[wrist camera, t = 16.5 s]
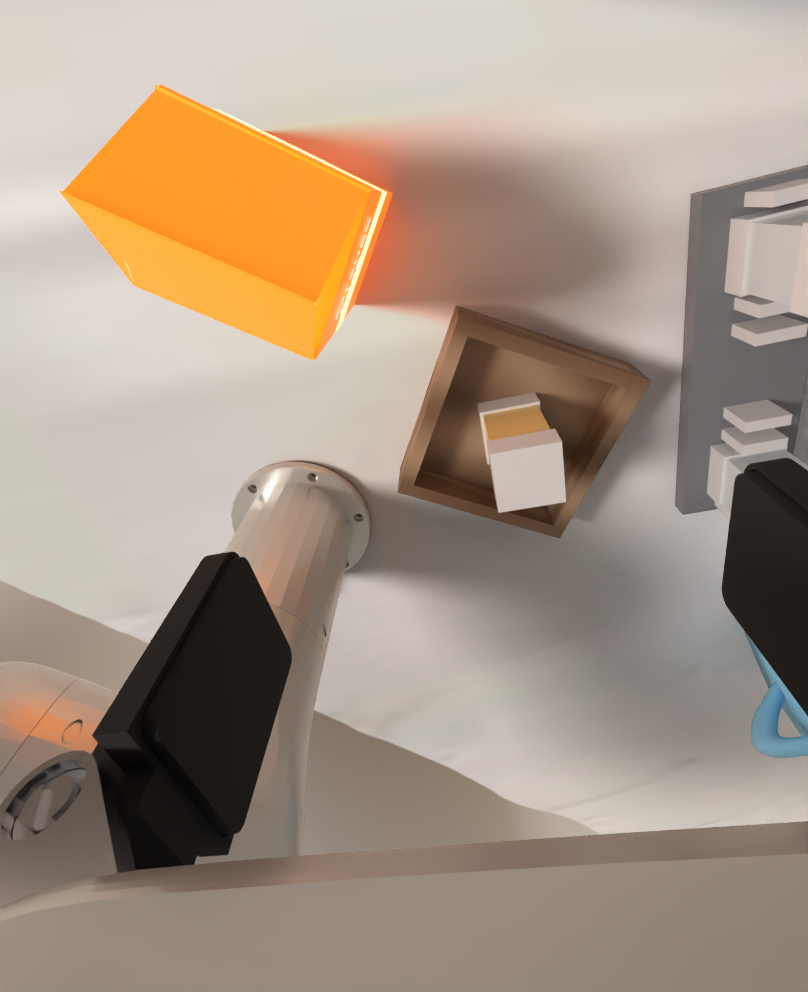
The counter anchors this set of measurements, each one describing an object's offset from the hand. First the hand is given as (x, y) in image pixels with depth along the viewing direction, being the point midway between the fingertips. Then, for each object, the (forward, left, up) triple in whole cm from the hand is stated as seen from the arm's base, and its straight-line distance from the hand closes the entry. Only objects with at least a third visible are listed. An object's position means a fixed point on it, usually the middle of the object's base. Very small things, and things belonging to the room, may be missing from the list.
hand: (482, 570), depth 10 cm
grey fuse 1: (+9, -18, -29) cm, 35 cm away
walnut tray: (-7, -8, -30) cm, 32 cm away
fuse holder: (+2, -22, -30) cm, 38 cm away
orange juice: (+2, +10, -31) cm, 32 cm away
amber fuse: (-7, -8, -29) cm, 31 cm away
